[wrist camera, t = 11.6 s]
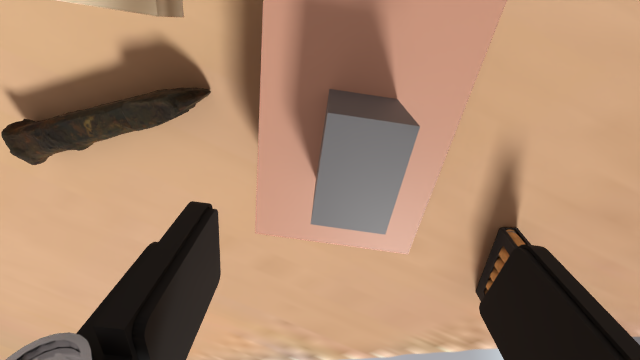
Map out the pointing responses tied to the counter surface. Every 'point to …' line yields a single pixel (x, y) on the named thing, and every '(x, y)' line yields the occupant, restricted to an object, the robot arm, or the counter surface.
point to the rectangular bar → (138, 6)
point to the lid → (362, 113)
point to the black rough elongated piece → (97, 123)
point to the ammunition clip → (499, 257)
